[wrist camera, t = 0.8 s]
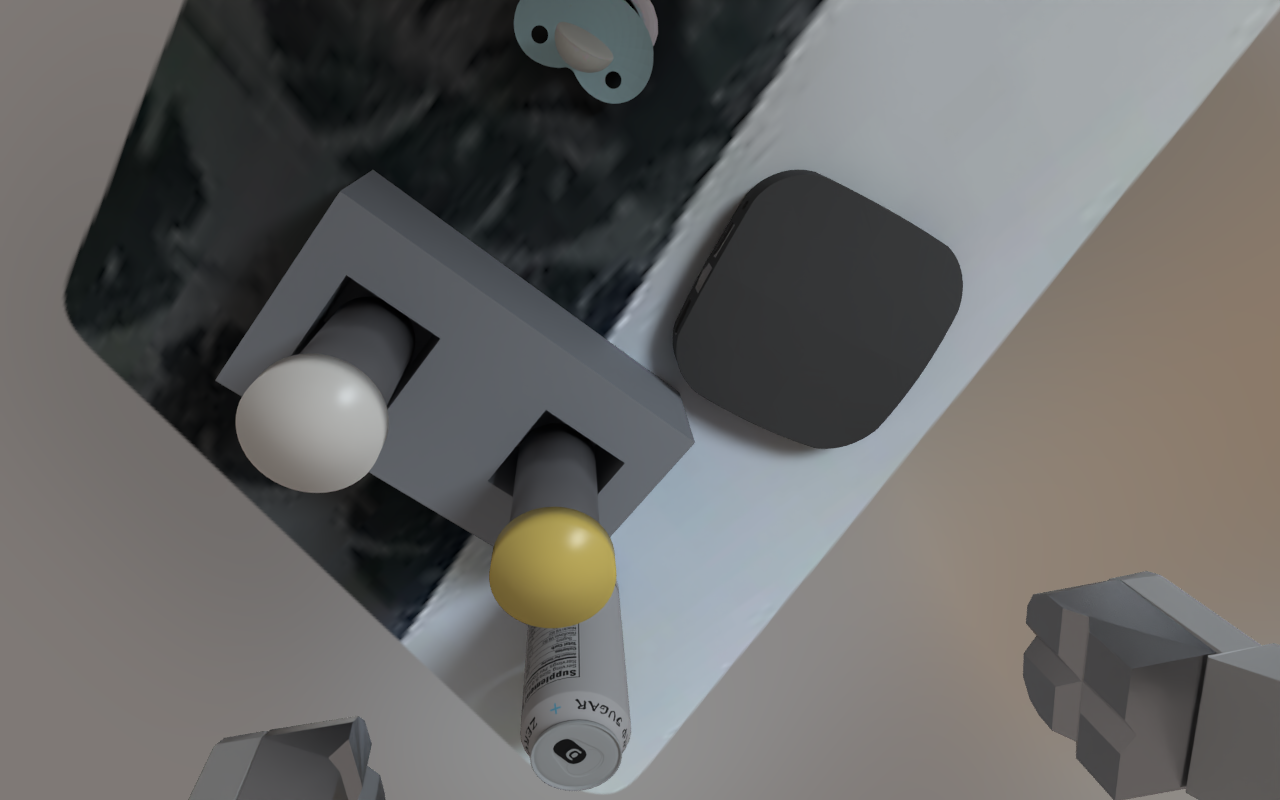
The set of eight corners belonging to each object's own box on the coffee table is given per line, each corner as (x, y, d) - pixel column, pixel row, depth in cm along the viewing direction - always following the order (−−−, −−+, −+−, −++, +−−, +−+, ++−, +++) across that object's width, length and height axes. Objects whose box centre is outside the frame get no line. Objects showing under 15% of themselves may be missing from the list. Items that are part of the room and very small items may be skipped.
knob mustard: (546, 394, 45) (539, 501, 35) (625, 448, 47) (641, 565, 36) (487, 466, 46) (463, 589, 36) (566, 516, 48) (565, 647, 38)
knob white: (353, 263, 41) (281, 338, 31) (447, 327, 43) (409, 418, 33) (297, 346, 43) (209, 444, 32) (390, 405, 44) (334, 516, 34)
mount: (372, 169, 45) (340, 191, 38) (679, 392, 51) (694, 442, 45) (262, 335, 48) (215, 380, 41) (564, 524, 55) (563, 588, 48)
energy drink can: (572, 633, 58) (573, 815, 45) (512, 583, 56) (494, 758, 42) (635, 585, 57) (656, 757, 43) (577, 532, 55) (579, 695, 41)
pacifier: (557, -71, 41) (503, 42, 43) (557, -94, 35) (494, 38, 37) (681, 11, 43) (624, 115, 45) (700, 2, 37) (634, 123, 39)
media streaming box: (841, 450, 54) (856, 472, 52) (648, 360, 51) (653, 379, 48) (972, 257, 50) (995, 270, 47) (770, 143, 46) (782, 149, 43)
